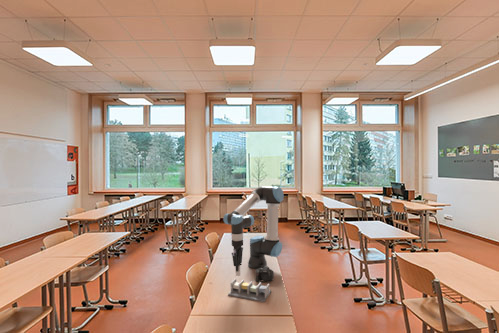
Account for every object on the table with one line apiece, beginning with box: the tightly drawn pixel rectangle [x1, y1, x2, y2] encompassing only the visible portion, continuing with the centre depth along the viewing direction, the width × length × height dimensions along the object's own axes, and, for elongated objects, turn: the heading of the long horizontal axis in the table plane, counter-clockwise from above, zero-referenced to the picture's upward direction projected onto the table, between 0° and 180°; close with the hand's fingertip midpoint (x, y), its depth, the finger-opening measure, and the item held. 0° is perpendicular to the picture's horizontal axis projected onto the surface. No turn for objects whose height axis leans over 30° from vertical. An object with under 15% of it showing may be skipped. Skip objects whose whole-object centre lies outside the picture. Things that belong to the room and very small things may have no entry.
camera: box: [254, 265, 275, 283], centre depth 182 cm, size 13×10×10 cm
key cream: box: [233, 281, 240, 289], centre depth 167 cm, size 4×4×2 cm
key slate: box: [259, 284, 267, 293], centre depth 161 cm, size 4×4×2 cm
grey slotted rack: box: [227, 277, 272, 303], centre depth 164 cm, size 14×24×6 cm, turn 68°
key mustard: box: [241, 281, 250, 289], centre depth 165 cm, size 4×4×2 cm
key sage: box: [250, 284, 257, 292], centre depth 163 cm, size 4×4×2 cm
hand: (238, 275), depth 167 cm, fingers closed
